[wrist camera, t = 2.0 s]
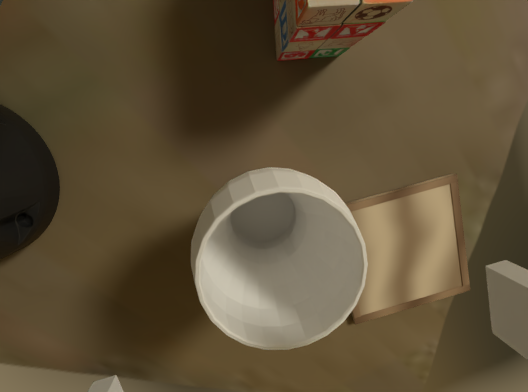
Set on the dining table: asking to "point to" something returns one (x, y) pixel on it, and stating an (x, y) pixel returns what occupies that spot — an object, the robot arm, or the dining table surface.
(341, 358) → the dining table surface
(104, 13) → the dining table surface
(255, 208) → the cup
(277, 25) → the stack of blocks
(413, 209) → the picture frame
